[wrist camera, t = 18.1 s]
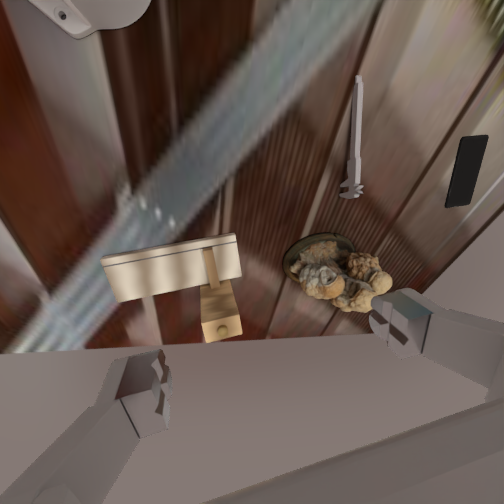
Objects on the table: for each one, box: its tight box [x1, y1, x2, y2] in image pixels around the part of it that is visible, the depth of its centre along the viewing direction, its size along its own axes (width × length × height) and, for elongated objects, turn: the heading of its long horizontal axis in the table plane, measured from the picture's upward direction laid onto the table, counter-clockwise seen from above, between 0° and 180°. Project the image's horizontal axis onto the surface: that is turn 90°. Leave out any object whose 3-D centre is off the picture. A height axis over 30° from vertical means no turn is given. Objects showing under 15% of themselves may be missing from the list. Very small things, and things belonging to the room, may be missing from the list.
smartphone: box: [445, 135, 489, 208], centre depth 53 cm, size 7×1×15 cm
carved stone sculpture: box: [283, 233, 392, 313], centre depth 45 cm, size 18×12×17 cm, turn 97°
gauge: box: [200, 247, 242, 343], centre depth 42 cm, size 6×12×14 cm, turn 7°
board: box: [100, 233, 242, 302], centre depth 45 cm, size 24×9×2 cm, turn 97°
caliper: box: [339, 76, 363, 199], centre depth 42 cm, size 20×1×6 cm, turn 0°
